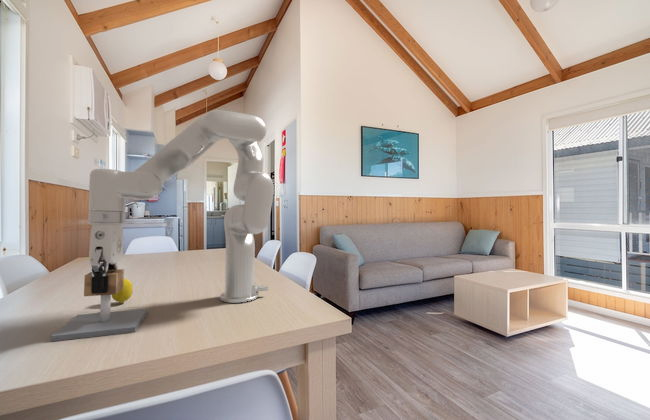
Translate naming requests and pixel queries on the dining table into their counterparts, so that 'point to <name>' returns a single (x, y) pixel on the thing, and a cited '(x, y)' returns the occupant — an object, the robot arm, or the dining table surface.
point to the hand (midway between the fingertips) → (104, 288)
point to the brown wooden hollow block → (113, 283)
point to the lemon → (124, 292)
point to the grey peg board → (101, 323)
